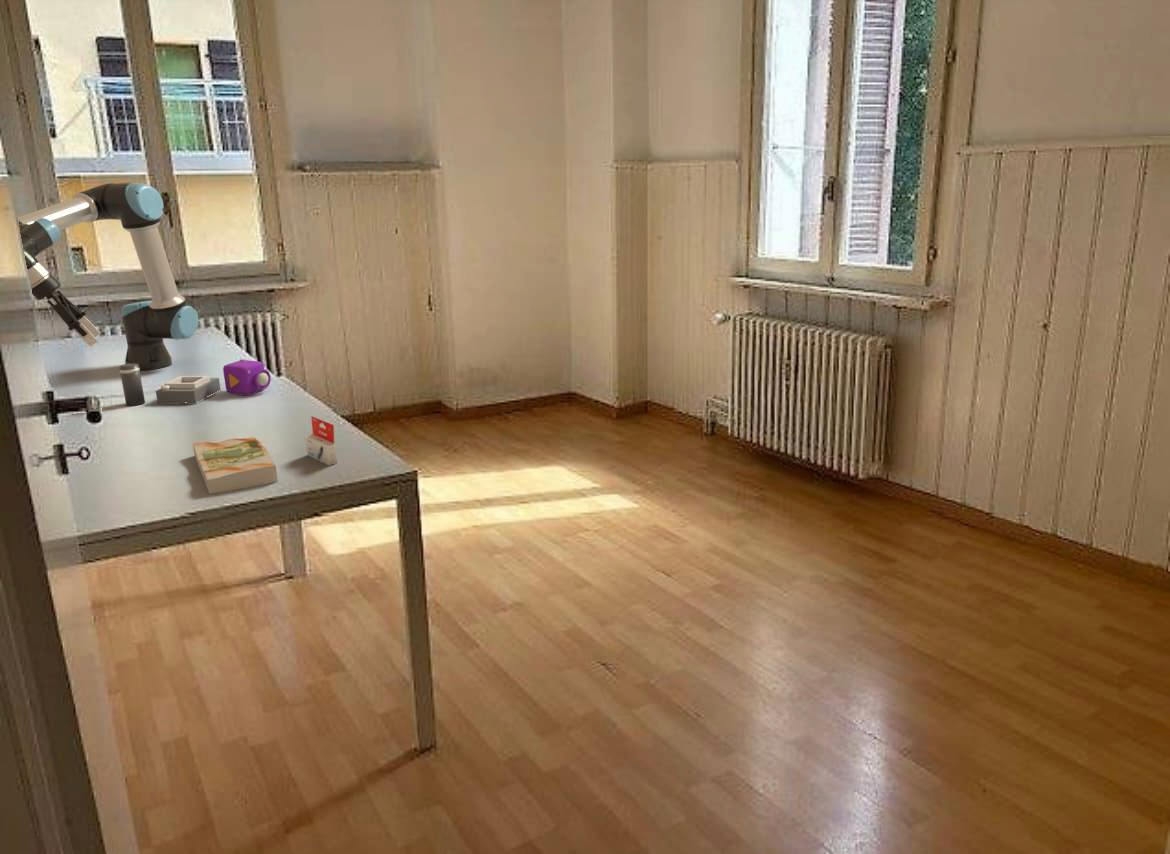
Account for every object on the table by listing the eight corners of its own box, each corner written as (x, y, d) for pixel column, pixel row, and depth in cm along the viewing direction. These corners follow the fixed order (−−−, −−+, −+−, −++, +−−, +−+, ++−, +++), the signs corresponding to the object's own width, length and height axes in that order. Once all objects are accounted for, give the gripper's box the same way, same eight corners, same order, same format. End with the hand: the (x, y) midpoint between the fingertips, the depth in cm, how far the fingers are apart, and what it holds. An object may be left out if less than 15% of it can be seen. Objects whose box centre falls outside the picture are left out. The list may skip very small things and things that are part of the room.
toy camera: (261, 397, 268) (257, 366, 265) (221, 395, 271) (217, 364, 268) (279, 388, 278) (276, 358, 275) (241, 387, 281) (237, 357, 278)
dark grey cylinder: (132, 401, 266) (125, 363, 262) (148, 401, 266) (142, 363, 262) (122, 406, 261) (115, 367, 257) (139, 406, 261) (132, 367, 257)
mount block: (184, 390, 278) (181, 373, 276) (220, 390, 277) (218, 373, 276) (157, 403, 263) (154, 386, 261) (196, 403, 262) (193, 386, 260)
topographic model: (278, 483, 197) (275, 462, 196) (209, 496, 190) (206, 474, 189) (256, 447, 222) (253, 429, 221) (194, 457, 215) (191, 438, 214)
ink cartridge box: (328, 466, 207) (324, 427, 204) (306, 455, 214) (302, 417, 212) (338, 463, 208) (334, 424, 206) (315, 453, 216) (311, 415, 213)
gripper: (33, 284, 258) (87, 339, 268) (22, 295, 237) (81, 355, 247) (55, 269, 260) (108, 325, 270) (46, 279, 238) (104, 339, 248)
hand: (95, 339), depth 258 cm, fingers open, 13 cm apart
